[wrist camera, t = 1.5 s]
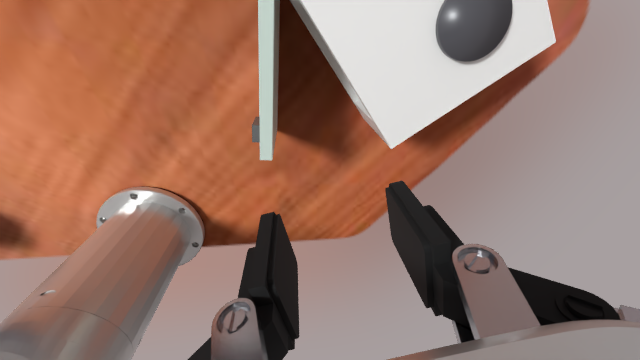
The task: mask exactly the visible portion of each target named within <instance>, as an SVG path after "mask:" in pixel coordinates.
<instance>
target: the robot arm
mask: <svg viewBox="0 0 640 360" xmlns="http://www.w3.org/2000/svg"><path fill="white" fill-rule="evenodd" d="M386 198H387V206H388V214H389V222H390V229H391V236H392V240H393V243H394V245H395V247H396V249H397V251H398V253H399V255H400V257H401V259H402V261H403V263H404V265H405V267H406V269H407V271H408V273H409V274H410V277H411V279H412V281H413V283H414V285H415V287H416V289H417V291H418V293H419V295H420V297H421V299H422V301H423V302H424V305H425V306H426V308H430V307H431V308H432V310H433V312H434V314H435V316H439V315H443V316H444V317H446V318H449V319H451V320H452V323H453V327H454V331H455V334H456V338H457V341H458V344H454V345H450V346H445V347H441V348H437V349H432V350H428V351H423V352H418V353H414V354H410V355H405V356H401V357H396V358H392V359H388V360H640V309H636V308H632V307H627V306H623V305H620V308H619V309H618V308H613V307H612V306H611V305H609V304H608V303H607V302H606V301H604V300H603V299H601V298H599V297H598V296H595V295H594V294H592V293H589V292H587V291H584V290H581V289H578V288H574V287H571V286H568V285H564V284H561V283H558V282H554V281H551V280H548V279H545V278H541V277H538V276H534V275H531V274H528V273H524V272H521V271H518V270H514V269H512V268H508V267H507V265H506V264H505V262H504V260H503V258H502V257H501V256H500V255H499V254H498V253H497V252H496V251H494V250H493V249H491V248H489V247H486V246H483V245H479V244H466V245H464V244H463V243H462V241H461V240H460V239H459V238H458V237H457V235H456V234H455V233H454V232H453V231H452V230H451V228H450V227H449V226H448V225H447V224H446V223H445V221H444V220H443V219H442V218H441V216H440V215H439V214H438V213H437V212H436V211H435V209H434V208H433V207H432V206H430V205H428V206H422V204H421V203H420V202H419V201H418V199H417V198H416V197H415V196H414V194H413V193H412V192H411V190H410V189H409V188H408V187H407V185H406V184H405V183H404V182H403V181H399V182H395V183H391V184H389V187H388V188H386ZM96 224H97V230H96V231H95V232H94V233H93V234H92V235H91V236H90V237H89V238H88V239H87V240H86V241H85V242H84V243H83V244H82V245H81V246H80V247H79V248H78V249H77V250H75V251H74V252H73V253H72V254H71V255H70V256H69V257H68V258H67V259H66V260H65V261H64V262H63V263H62V264H61V265H60V266H59V267H58V268H57V269H56V270H55V271H54V272H53V273H52V274H51V275H50V276H49V277H48V278H47V279H46V280H45V281H44V282H43V283H42V284H41V285H40V286H39V287H37V288H36V289H35V290H34V291H33V292H32V293H31V294H30V295H29V296H28V297H27V298H26V299H25V300H24V301H23V302H22V303H21V304H20V305H19V306H18V307H17V308H16V309H15V310H14V311H13V312H12V313H11V314H10V315H9V316H8V317H7V318H5V319H4V320H3V321H2V322H1V323H0V360H131V359H132V357H133V355H134V353H135V351H136V349H137V347H138V345H139V343H140V341H141V339H142V337H143V335H144V333H145V331H146V329H147V327H148V325H149V323H150V321H151V319H152V317H153V315H154V313H155V311H156V309H157V307H158V305H159V303H160V301H161V299H162V297H163V296H164V293H165V291H166V290H167V288H168V286H169V283H170V282H171V279H172V278H173V276H174V274H175V272H176V270H177V268H178V266H180V265H183V264H185V263H187V262H189V261H190V260H191V259H192V258H194V257H195V256H196V254H197V253H198V252H199V251H200V249H201V246H202V244H203V241H204V237H205V229H204V225H203V222H202V220H201V218H200V216H199V214H198V213H197V212H196V210H195V209H194V208H193V207H192V206H191V205H190V204H189V203H188V202H187V201H185V200H184V199H182V198H181V197H179V196H177V195H175V194H173V193H171V192H168V191H165V190H162V189H159V188H152V187H133V188H127V189H125V190H122V191H119V192H117V193H116V194H114V195H112V196H111V197H110V198H109V199H108V200H107V201H105V202H104V204H103V205H102V206H101V208H100V209H99V212H98V214H97V222H96ZM297 270H298V268H297V261H296V257H295V255H294V252H293V249H292V246H291V243H290V241H289V238H288V235H287V232H286V230H285V227H284V224H283V221H282V219H281V216H280V214H277V215H276V214H275V213H274V212H272V213H267V214H263V215H261V218H260V224H259V230H258V235H257V241H256V247H253V248H249V250H248V252H247V256H246V261H245V266H244V270H243V276H242V280H241V285H240V290H239V295H238V299H234V300H232V301H230V302H228V303H227V304H225V305H224V306H223V307H222V308H221V309H220V310H219V311H218V312H217V314H216V315H215V317H214V319H213V322H212V330H211V338H209V339H208V340H207V341H206V342H205V343H204V344H203V345H202V346H201V347H200V348H199V349H198V350H197V351H196V352H195V353H194V354H193V355H192V356H191V357H190V358H189V359H188V360H282V359H283V358H284V357H285V355H286V354H287V353H288V350H292V349H294V348H295V339H297V338H298V337H299V310H298V273H297V272H298V271H297Z"/></svg>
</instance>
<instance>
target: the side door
mask: <svg viewBox="0 0 640 360" xmlns="http://www.w3.org/2000/svg"><path fill="white" fill-rule="evenodd" d="M279 21H280V0H258V27H259V117H256V118H255V120H254V122H253V124H252V142H260V160H272V158H273V152H274V146H275V140H276V134H277V125H278V73H279Z"/></svg>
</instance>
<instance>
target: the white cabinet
mask: <svg viewBox="0 0 640 360" xmlns="http://www.w3.org/2000/svg"><path fill="white" fill-rule="evenodd" d="M290 2H291V3H292V5H293V7H294V8H295V10H296V11H297V13H298V15H299V16H300V18H301V19H302V21H303V23H304V24H305V26H306V27H307V29H308V31H309V32H310V34H311V35H312V37H313V39H314V40H315V42H316V43H317V45H318V47H319V48H320V50H321V51H322V53H323V55H324V56H325V58H326V59H327V61H328V63H329V64H330V66H331V67H332V69H333V71H334V72H335V74H336V75H337V77H338V79H339V80H340V82H341V83H342V85H343V87H344V88H345V90H346V91H347V93H348V95H349V96H350V98H351V99H352V101H353V103H354V104H355V106H356V107H357V109H358V111H359V112H360V114H361V115H362V117H363V119H364V120H365V121H366V122H367V123H368V124H369V125H370V126H371V127H372V128H373V130H374V131H375V132H376V133H377V134H378V135H379V136H380V137H381V138H382V139H383V141H384V142H385V143H386V144H387V145H388V146H389V147H390V148H391V149H392V148H394V147H395V146H397V145H398V144H400V143H401V142H403V141H404V140H406V139H407V138H409V137H411V136H412V135H414V134H415V133H417V132H418V131H420V130H421V129H423V128H424V127H426V126H428V125H429V124H431V123H432V122H434V121H435V120H437V119H438V118H440V117H441V116H443V115H444V114H446V113H448V112H449V111H451V110H452V109H454V108H455V107H457V106H458V105H460V104H461V103H463V102H464V101H466V100H468V99H469V98H471V97H472V96H474V95H475V94H477V93H478V92H480V91H481V90H483V89H484V88H486V87H488V86H489V85H491V84H492V83H494V82H495V81H497V80H498V79H500V78H501V77H503V76H505V75H506V74H508V73H509V72H511V71H512V70H514V69H515V68H517V67H518V66H520V65H521V64H523V63H525V62H526V61H528V60H529V59H531V58H532V57H534V56H535V55H537V54H538V53H540V52H541V51H543V50H545V49H546V48H548V47H549V46H551V45H552V44H554V43H555V42H556V40H555V35H554V30H553V26H552V21H551V17H550V12H549V7H548V3H547V0H290Z"/></svg>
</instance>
